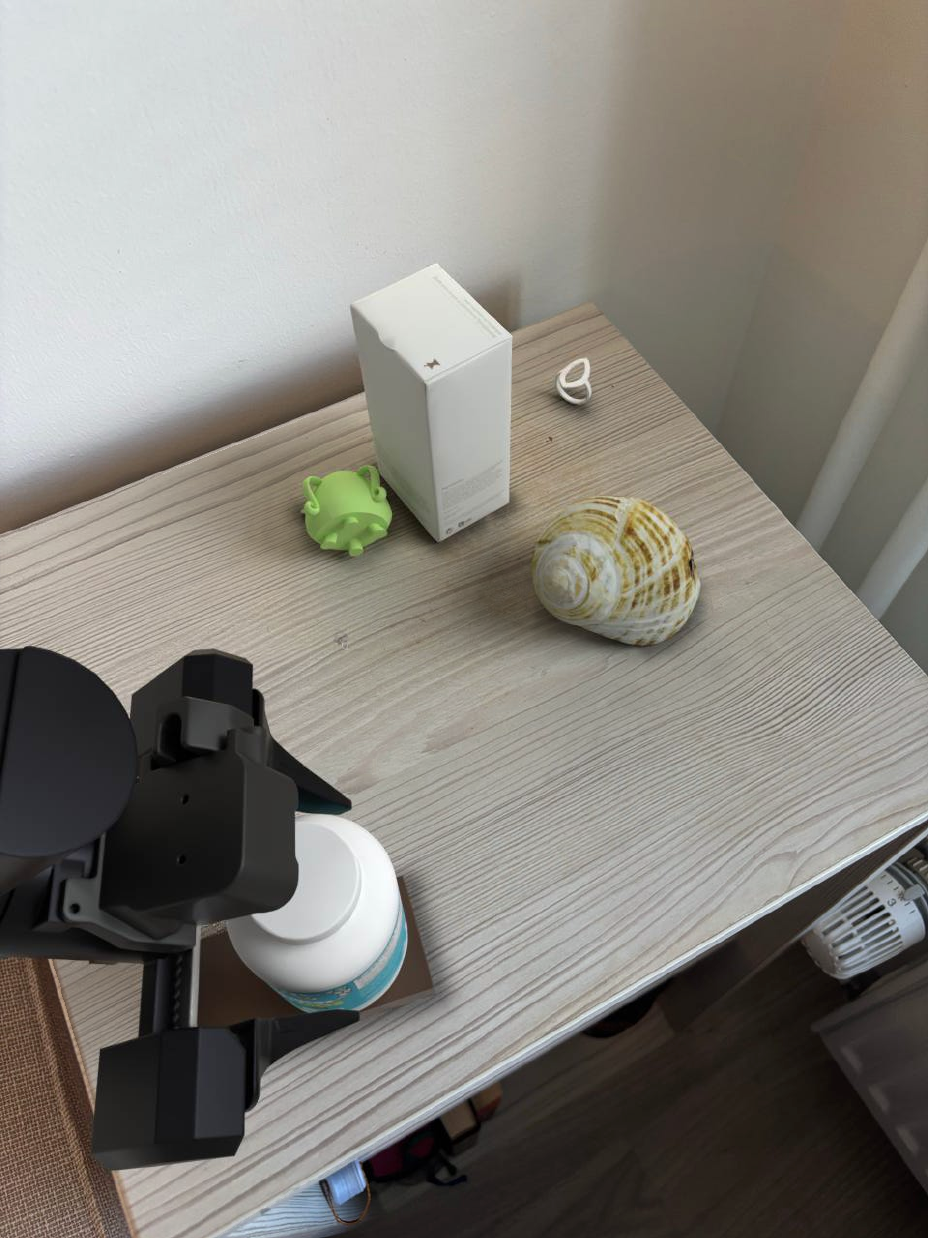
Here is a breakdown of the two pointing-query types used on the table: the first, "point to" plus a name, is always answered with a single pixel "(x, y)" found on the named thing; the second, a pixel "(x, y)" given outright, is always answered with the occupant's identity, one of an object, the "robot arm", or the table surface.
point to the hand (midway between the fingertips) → (350, 907)
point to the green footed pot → (346, 509)
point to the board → (244, 996)
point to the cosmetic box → (437, 398)
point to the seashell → (616, 570)
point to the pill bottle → (330, 922)
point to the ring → (581, 381)
